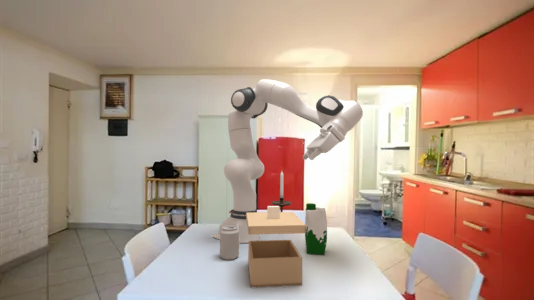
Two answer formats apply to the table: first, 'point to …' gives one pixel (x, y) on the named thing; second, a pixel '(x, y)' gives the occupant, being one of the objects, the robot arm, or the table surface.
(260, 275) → the carton
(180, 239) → the table surface
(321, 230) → the milk carton
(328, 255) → the table surface
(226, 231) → the can
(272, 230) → the carton lid
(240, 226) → the robot arm
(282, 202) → the candlestick
